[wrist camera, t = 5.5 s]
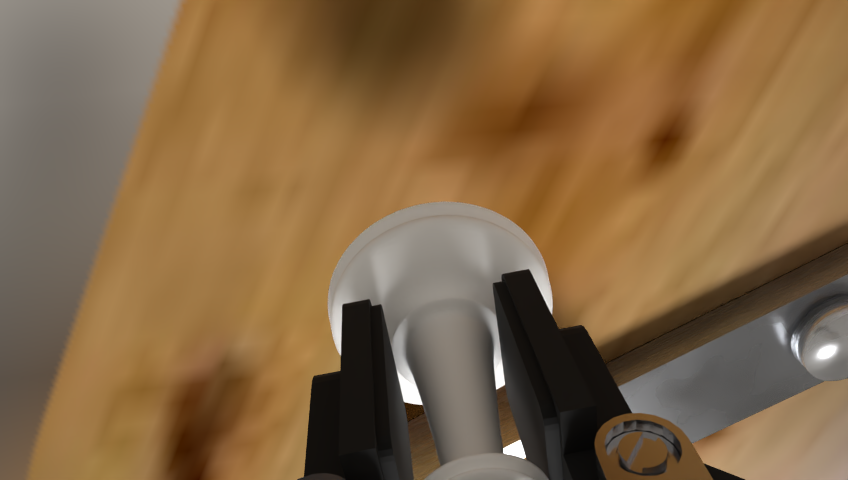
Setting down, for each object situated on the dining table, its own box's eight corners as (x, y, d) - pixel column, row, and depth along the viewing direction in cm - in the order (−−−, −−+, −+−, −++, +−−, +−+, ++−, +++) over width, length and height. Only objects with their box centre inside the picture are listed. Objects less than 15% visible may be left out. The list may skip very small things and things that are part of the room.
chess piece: (350, 403, 15) (340, 1071, 7) (305, 220, 13) (198, 868, 4) (552, 370, 16) (810, 983, 7) (543, 183, 13) (919, 741, 4)
